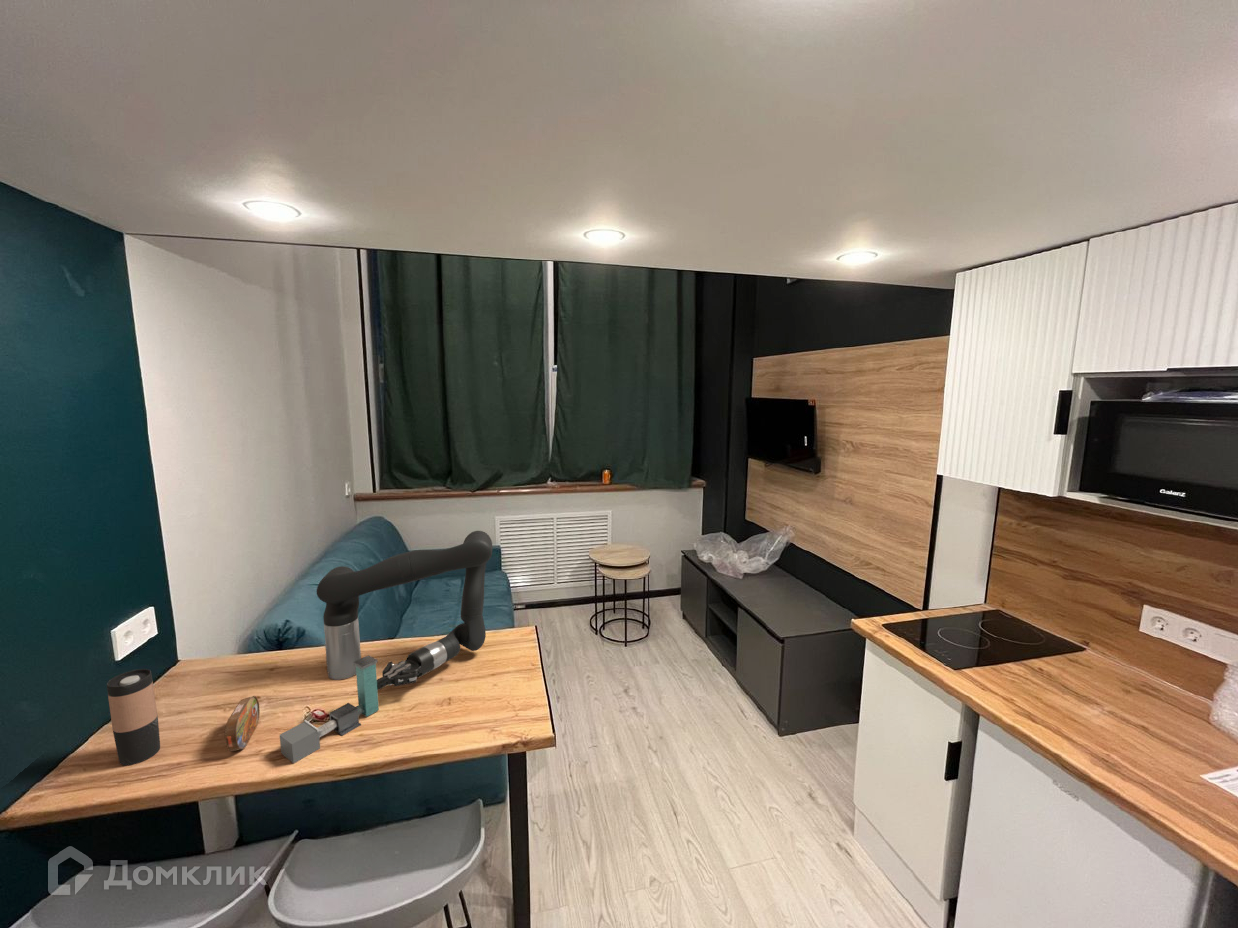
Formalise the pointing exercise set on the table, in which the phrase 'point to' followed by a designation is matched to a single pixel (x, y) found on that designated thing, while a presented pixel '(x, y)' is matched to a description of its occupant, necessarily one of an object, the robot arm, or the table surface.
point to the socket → (299, 741)
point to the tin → (242, 723)
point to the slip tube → (361, 692)
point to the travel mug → (134, 716)
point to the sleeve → (345, 718)
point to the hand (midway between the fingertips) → (373, 686)
